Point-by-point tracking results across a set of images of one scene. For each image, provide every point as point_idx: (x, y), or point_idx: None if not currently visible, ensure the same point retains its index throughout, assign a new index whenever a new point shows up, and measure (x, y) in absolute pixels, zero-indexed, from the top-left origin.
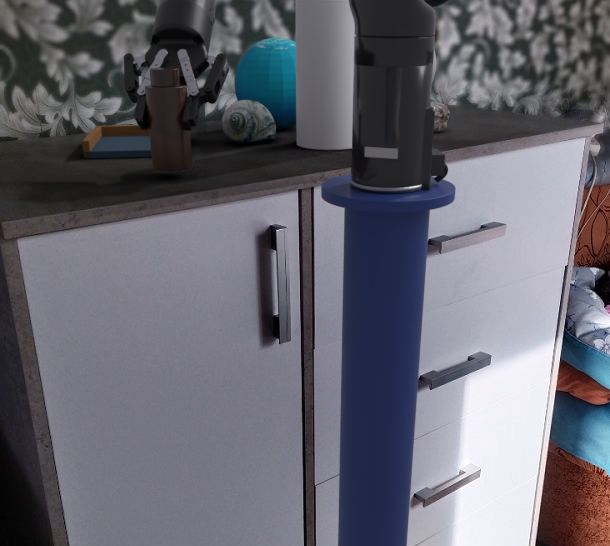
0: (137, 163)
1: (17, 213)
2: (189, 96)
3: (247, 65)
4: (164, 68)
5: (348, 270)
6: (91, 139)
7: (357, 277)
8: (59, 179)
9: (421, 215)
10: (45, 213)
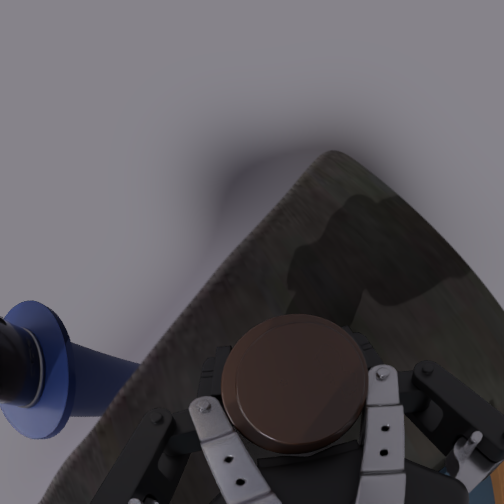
0: None
1: (348, 162)
2: (223, 405)
3: None
4: (302, 386)
5: (96, 360)
6: None
7: (91, 351)
8: (435, 302)
9: None
10: (323, 167)
